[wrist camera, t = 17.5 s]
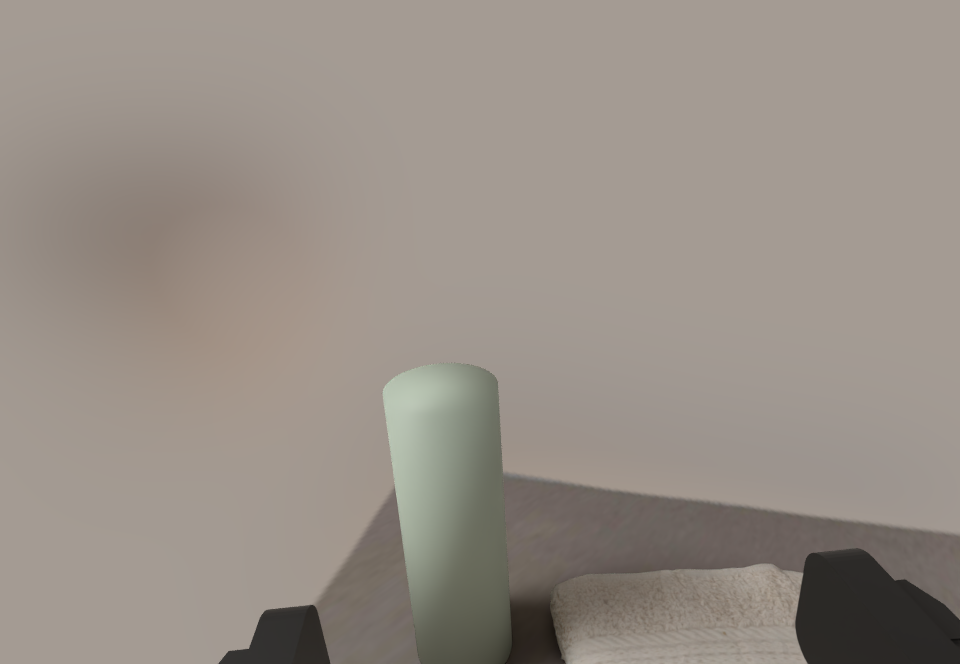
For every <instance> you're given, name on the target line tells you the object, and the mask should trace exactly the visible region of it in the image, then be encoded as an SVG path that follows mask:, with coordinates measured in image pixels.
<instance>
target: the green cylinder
mask: <svg viewBox="0 0 960 664" xmlns="http://www.w3.org/2000/svg"><path fill="white" fill-rule="evenodd" d="M383 400H384V408H385V415H386V422H387V429H388V437H389V444H390V452H391V459H392V467H393V473H394V481H395V489H396V496H397V503H398V511H399V518H400V525H401V533H402V540H403V547H404V555H405V562H406V569H407V577H408V584H409V591H410V599H411V606H412V614H413V621H414V628H415V636H416V643H417V650H418V656H419V660H420V662H421V664H505V663H506V661H507V659H508V657H509V655H510V652H511V648H512V630H511V612H510V594H509V576H508V558H507V540H506V522H505V504H504V486H503V469H502V451H501V432H500V414H499V396H498V382H497V379H496V377H495V376H494V375H493V374H492V373H490V372H489V371H487V370H485V369H483V368H481V367H477V366H473V365H469V364H460V363H441V364H433V365H426V366H422V367H418V368H415V369H411V370H409V371H406V372H404V373H402V374H400V375H398V376H396V377H394V378H393V379H392V380H390V381H389V382H388V384H387V385H386V386H385V387H384V390H383Z"/></svg>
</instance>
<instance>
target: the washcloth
mask: <svg viewBox="0 0 960 664" xmlns="http://www.w3.org/2000/svg"><path fill="white" fill-rule="evenodd" d="M802 578H803V573H800V572H794V571H784V570H781V569H779V568H778V567H777V566H775V565H773V564H757V565H752V566H749V567H746V568H730V569H718V570H698V569H696V570H694V569H684V570H680V569H676V570H674V571H671V570H658V571H655V572H644V573H625V574H614V573H611V574H587V575H582V576H580V577H576V578H573V579H569V580H567V581H565V582H562V583H559V584H557V585H555V587H554V589H553V590H552V592H551V594H550V598H551V603H550V611H551V614H552V618H553V621H554V628H555V630H556V636H557V642H558V645H559V648H560V651H561V654H562V656H561V659H563V660H565V662H566V664H807V662H806V660H805V658H804V656H803V654H802V651H801V649H800V646H799V643H798V639H797V635H796V629H795V619H796V613H797V607H798V601H799V595H800V589H801V584H802Z"/></svg>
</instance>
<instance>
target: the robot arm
mask: <svg viewBox="0 0 960 664" xmlns="http://www.w3.org/2000/svg"><path fill="white" fill-rule="evenodd" d="M795 629H796V635H797V639H798V643H799V646H800V649H801V651H802V654H803V656H804V658H805V660H806V662H807V664H960V620H959V619H958V618H957V617H956V616H955V615H954V614H953V613H952V612H951V611H950V610H949V609H948V608H947V607H946V606H945V605H944V604H943V603H941V602H940V601H938V600H936V599H935V598H933V597H932V596H930V595H929V594H927V593H925V592H924V591H922V590H921V589H919V588H918V587H916V586H915V585H913V584H911V583H910V582H908V581H907V580H896V581H895V580H894V579H893V578H892V577H891V576H890V575H889V574H888V573H887V572H886V571H885V570H884V569H883V568H882V567H881V566H880V565H879V564H878V562H877V561H876V560H875V559H874V558H873V557H872V556H871V555H870V554H868V553H867V552H866V551H864V550H862V549H858V548H856V549H846V550H837V551H827V552H818V553H811V554H809V555H808V556H807V558H806V561H805V566H804V572H803V578H802V584H801V589H800V595H799V601H798V607H797V613H796V619H795ZM219 664H330V660H329V656H328V652H327V648H326V644H325V640H324V636H323V632H322V628H321V624H320V620H319V616H318V612H317V610H316V607H315V606H314V605H308V606H299V607H289V608H280V609H270V610H266V611H265V612H264V613H263V614H262V615H261V617H260V620H259V622H258V625H257V628H256V631H255V633H254V636H253V639H252V642H251V645H250V648H249V649H244V650H235V651H228V653H227V654H226V655H225V656H224V657H223V659H222V660H221V661H220V662H219Z"/></svg>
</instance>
